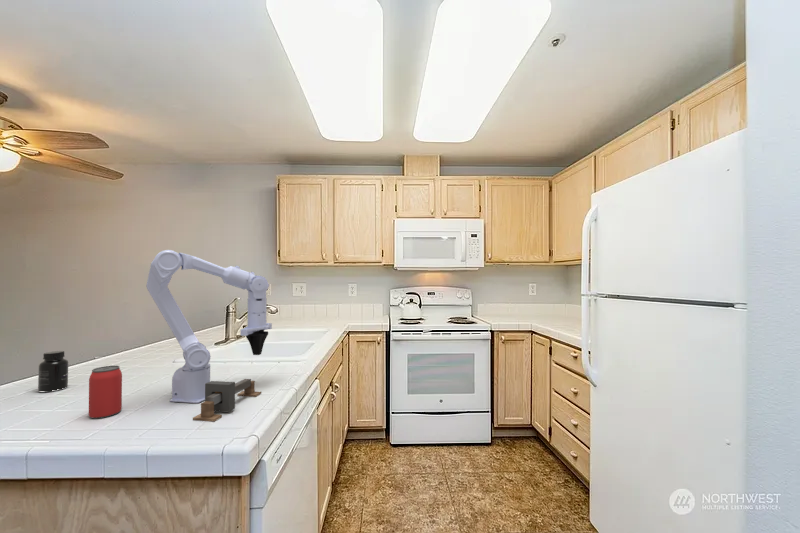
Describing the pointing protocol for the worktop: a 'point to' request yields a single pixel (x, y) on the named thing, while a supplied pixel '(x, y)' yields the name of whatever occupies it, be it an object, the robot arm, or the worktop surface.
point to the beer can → (105, 391)
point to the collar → (227, 394)
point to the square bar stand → (215, 398)
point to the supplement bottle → (53, 372)
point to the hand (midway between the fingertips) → (257, 354)
